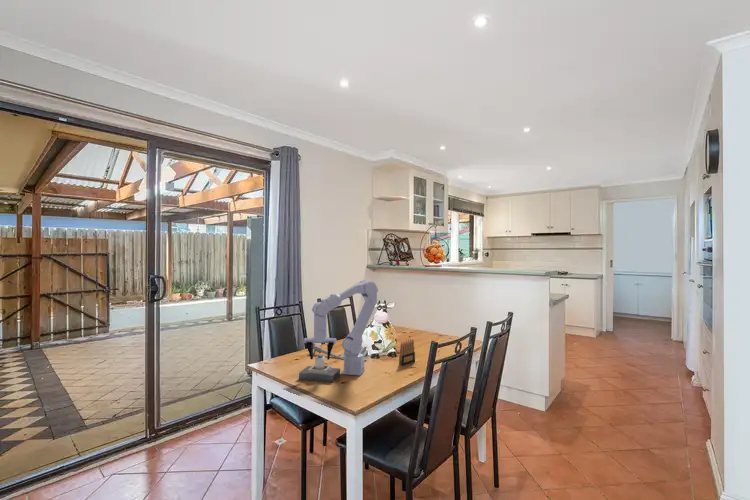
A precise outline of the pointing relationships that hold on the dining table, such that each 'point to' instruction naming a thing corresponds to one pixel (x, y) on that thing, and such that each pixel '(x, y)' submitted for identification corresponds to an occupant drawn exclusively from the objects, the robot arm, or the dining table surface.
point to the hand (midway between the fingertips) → (320, 358)
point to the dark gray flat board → (319, 374)
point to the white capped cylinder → (320, 362)
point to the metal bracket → (363, 351)
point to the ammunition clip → (407, 353)
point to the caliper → (323, 351)
